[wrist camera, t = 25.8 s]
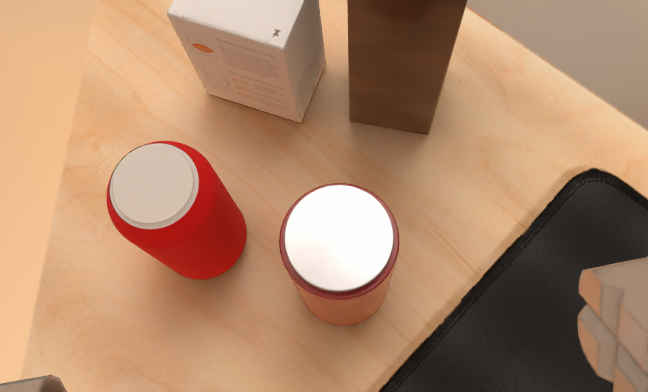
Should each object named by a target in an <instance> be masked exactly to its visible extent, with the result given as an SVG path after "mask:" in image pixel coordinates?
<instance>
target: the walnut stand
mask: <svg viewBox="0 0 648 392" xmlns="http://www.w3.org/2000/svg"><path fill="white" fill-rule="evenodd" d="M347 2H348V58H349V113H350V121H355V122H361V123H366V124H372V125H377V126H383V127H388V128H394V129H399V130H405V131H410V132H416V133H421V134H427V135H428V134H429V132H430V128H431V125H432V121H433V118H434V114H435V111H436V107H437V104H438V100H439V97H440V93H441V90H442V87H443V83H444V80H445V76H446V73H447V69H448V66H449V62H450V59H451V55H452V52H453V48H454V45H455V41H456V38H457V35H458V31H459V28H460V24H461V21H462V17H463V14H464V10H465V7H466V3H467V0H347Z"/></svg>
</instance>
